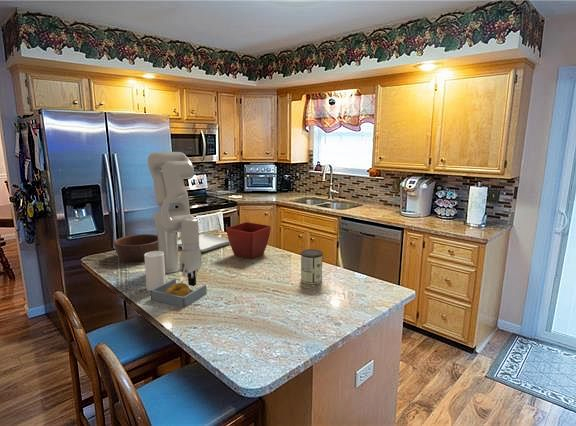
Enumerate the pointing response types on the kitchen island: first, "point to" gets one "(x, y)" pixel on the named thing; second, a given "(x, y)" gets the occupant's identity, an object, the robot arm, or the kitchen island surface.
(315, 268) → the coffee can
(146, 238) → the wooden bowl
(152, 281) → the cup
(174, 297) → the box
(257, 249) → the plant pot
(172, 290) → the bagel
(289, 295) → the kitchen island surface
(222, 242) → the square plate
